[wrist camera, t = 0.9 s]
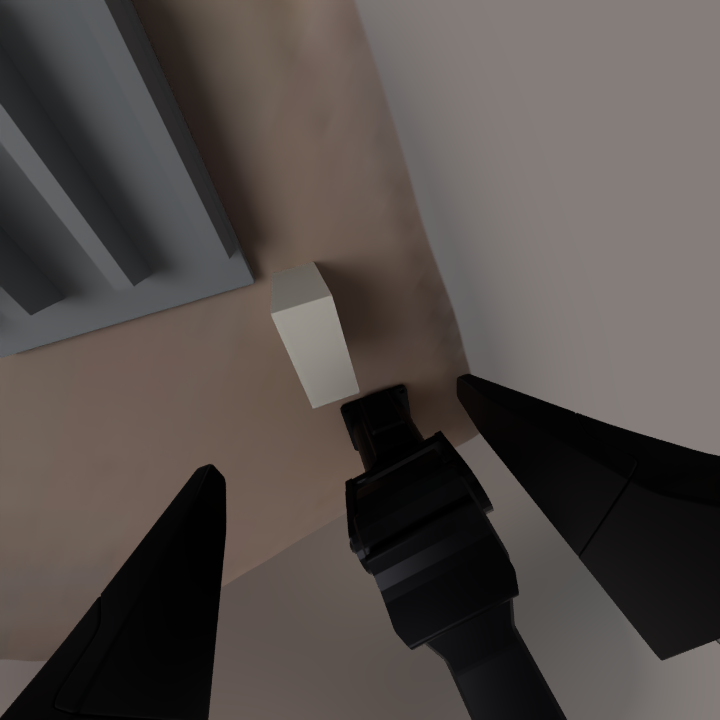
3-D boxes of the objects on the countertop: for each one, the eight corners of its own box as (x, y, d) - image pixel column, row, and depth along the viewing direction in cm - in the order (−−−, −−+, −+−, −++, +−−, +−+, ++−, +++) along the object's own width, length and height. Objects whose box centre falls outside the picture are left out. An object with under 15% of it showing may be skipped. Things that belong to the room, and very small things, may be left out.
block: (336, 337, 21) (360, 392, 15) (302, 348, 21) (313, 408, 15) (313, 261, 18) (331, 294, 12) (271, 273, 17) (270, 314, 12)
